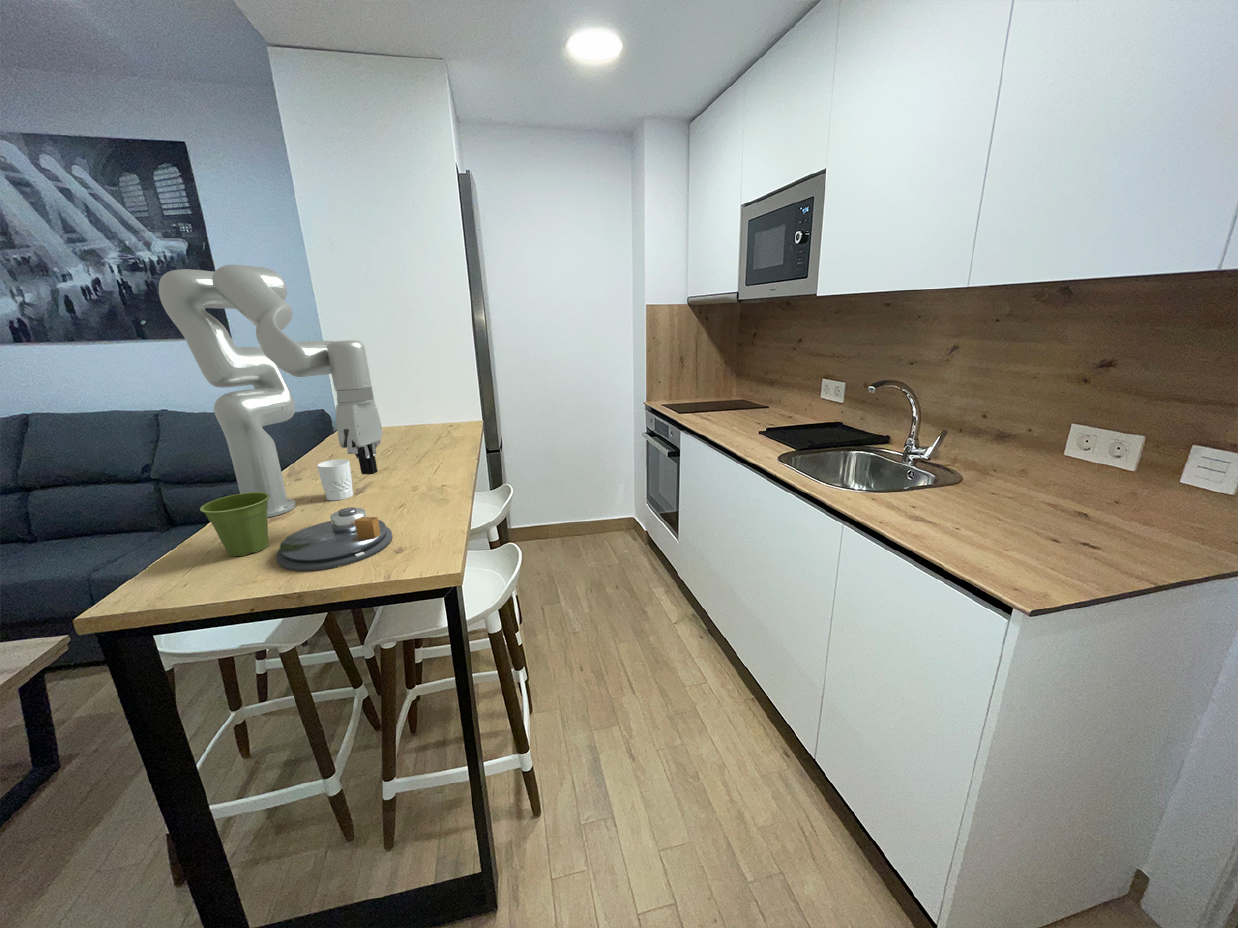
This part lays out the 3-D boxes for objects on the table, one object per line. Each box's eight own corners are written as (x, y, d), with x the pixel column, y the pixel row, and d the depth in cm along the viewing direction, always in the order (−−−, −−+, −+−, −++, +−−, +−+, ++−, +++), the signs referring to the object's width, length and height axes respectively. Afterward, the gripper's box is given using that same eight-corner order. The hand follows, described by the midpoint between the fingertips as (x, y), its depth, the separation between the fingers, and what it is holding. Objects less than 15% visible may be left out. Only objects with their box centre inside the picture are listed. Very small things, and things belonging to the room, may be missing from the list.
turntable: (257, 560, 99) (250, 535, 97) (326, 522, 118) (321, 500, 116) (348, 564, 96) (343, 538, 95) (404, 524, 115) (400, 502, 114)
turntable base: (249, 568, 98) (248, 562, 98) (326, 525, 119) (325, 520, 119) (351, 573, 95) (350, 567, 95) (411, 528, 116) (410, 523, 116)
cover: (325, 531, 109) (321, 515, 107) (346, 519, 115) (343, 504, 114) (354, 532, 108) (351, 516, 107) (373, 520, 114) (371, 505, 113)
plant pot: (223, 544, 110) (210, 497, 107) (285, 534, 114) (275, 489, 111) (204, 567, 100) (190, 515, 96) (274, 555, 104) (262, 505, 101)
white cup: (361, 492, 143) (355, 459, 140) (344, 501, 136) (337, 467, 133) (335, 492, 144) (329, 459, 141) (317, 501, 136) (310, 466, 134)
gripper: (360, 392, 120) (374, 465, 125) (316, 401, 106) (334, 483, 111) (389, 391, 119) (401, 464, 124) (348, 400, 105) (364, 482, 110)
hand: (369, 473), depth 117 cm, fingers closed
